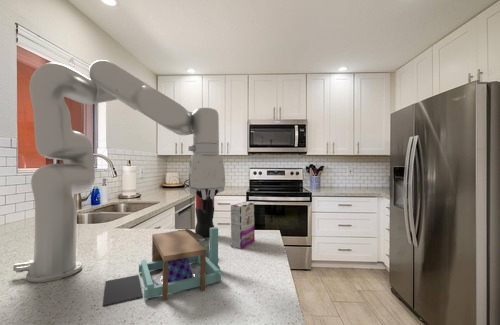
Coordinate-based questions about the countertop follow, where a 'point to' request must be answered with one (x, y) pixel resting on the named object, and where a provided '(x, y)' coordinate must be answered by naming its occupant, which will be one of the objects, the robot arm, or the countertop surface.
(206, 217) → the cola bottle
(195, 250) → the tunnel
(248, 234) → the candy bar box
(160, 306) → the countertop surface
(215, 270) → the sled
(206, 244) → the beverage carton
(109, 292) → the mat
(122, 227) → the countertop surface
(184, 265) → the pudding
